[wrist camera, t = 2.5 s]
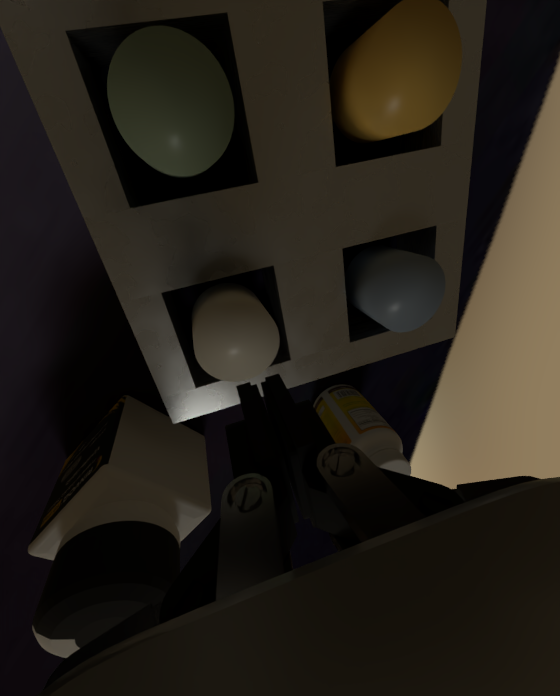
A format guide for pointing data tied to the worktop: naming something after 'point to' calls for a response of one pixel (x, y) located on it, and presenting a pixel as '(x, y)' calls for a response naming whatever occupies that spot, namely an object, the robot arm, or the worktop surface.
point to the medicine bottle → (117, 523)
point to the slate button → (395, 287)
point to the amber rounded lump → (397, 73)
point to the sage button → (170, 100)
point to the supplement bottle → (361, 427)
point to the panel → (253, 180)
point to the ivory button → (233, 333)
